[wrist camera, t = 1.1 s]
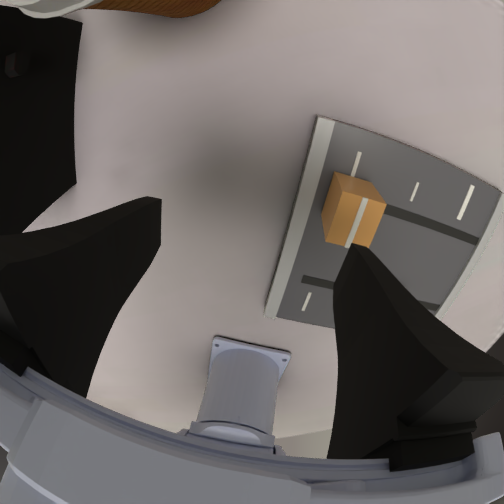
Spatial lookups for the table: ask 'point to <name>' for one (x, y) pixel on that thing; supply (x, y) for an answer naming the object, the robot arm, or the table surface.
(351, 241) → the block
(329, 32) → the table surface
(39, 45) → the uninterruptible power supply
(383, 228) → the fader board
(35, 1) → the disposable coffee cup
